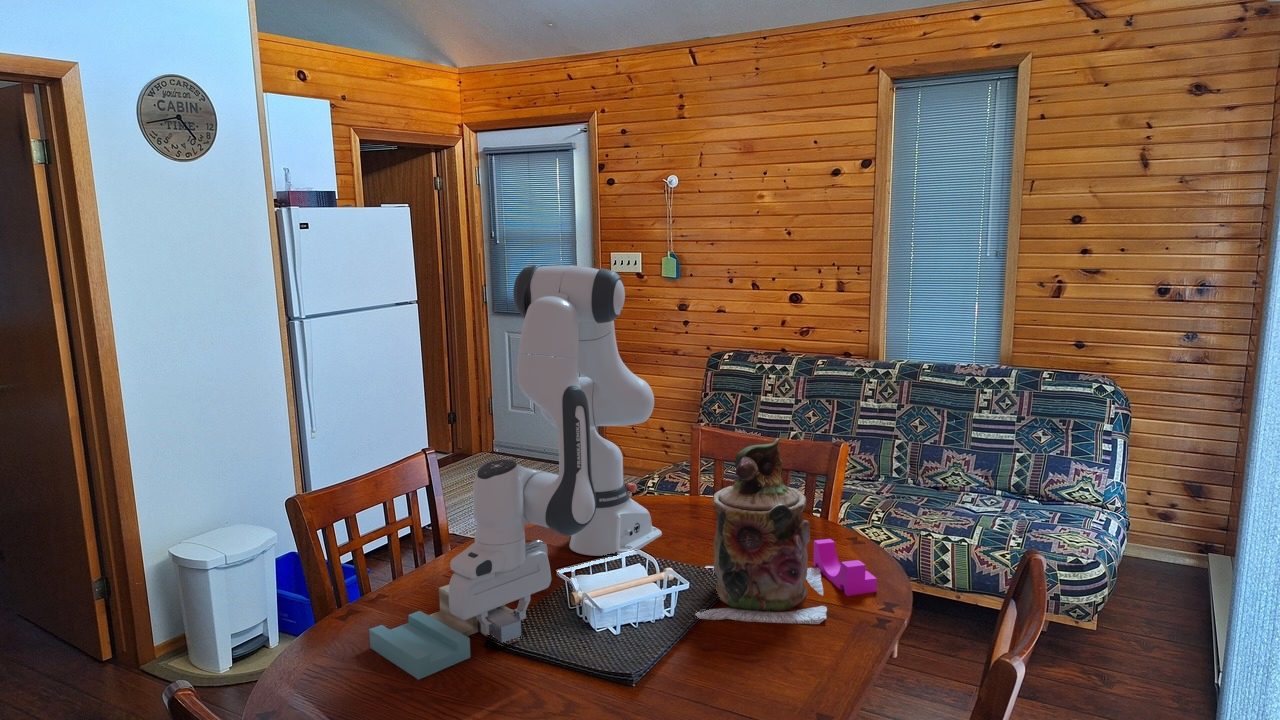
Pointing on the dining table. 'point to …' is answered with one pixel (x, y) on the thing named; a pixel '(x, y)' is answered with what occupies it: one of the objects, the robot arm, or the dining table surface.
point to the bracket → (453, 622)
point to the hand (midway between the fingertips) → (503, 625)
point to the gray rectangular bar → (503, 625)
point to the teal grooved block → (420, 645)
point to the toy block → (843, 570)
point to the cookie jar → (762, 545)
